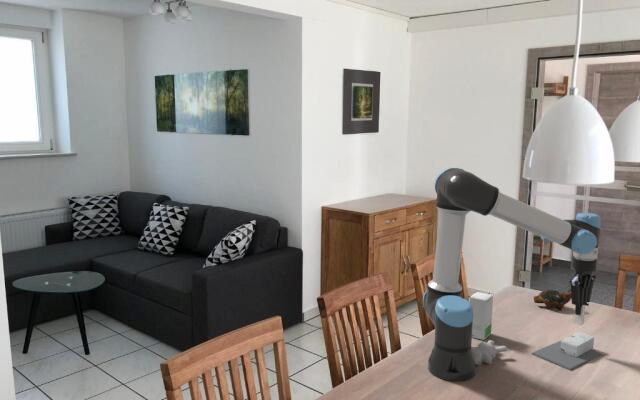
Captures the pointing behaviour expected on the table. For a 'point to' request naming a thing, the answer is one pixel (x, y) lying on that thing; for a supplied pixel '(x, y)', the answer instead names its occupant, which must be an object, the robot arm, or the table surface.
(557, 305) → the decorative turtle
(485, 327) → the skincare box
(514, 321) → the table surface
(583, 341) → the skincare box
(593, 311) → the table surface
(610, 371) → the table surface
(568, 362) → the mat
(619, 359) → the table surface
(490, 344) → the bunny figurine
